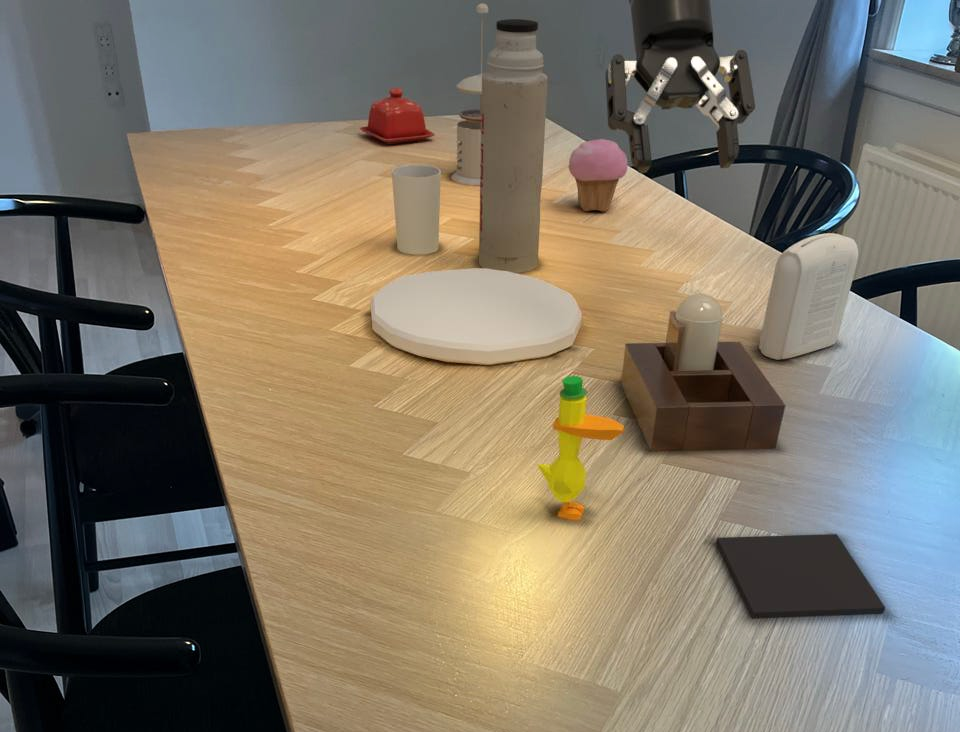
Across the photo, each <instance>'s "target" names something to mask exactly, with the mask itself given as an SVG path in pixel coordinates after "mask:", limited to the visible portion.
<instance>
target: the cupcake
mask: <svg viewBox="0 0 960 732" xmlns="http://www.w3.org/2000/svg"><path fill="white" fill-rule="evenodd" d="M568 161H569V162H568V171H569V173H570V174H571V176H572V177H573V178H574V180H575V182H576V187H577V202H578V205H579V207H580V208H581V209H582V210H583V212H591V211H598V212H604V213H605V212H607V211H608V210H609V209H610V207H611V205H612V202H613V199H614V196H615V192H616V189H617V186H618V183H619V180H620V179H622V178H624V177H625V176H626V174H627V172H628V158H627V155H626V153H625V152H624V150H622V148H620V147H619V145H618V143H617V142H615V141H614V140H609V139H604V138H598V139H592V140H588V141H585V142H581V143H580V145H578V147H576V148H575V149H573V150H572V151H571V154H570V157H569V159H568Z"/></svg>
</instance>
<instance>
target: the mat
mask: <svg viewBox="0 0 960 732" xmlns="http://www.w3.org/2000/svg"><path fill="white" fill-rule="evenodd" d="M715 542H716V543H715V544H716V547H717V549H718V550H719V552H720V554H721V557H722V559H723V561H724V563H725V565H726V568H727V569H728V571H729V574H730V575H731V577H732V579H733V581H734V585H735V586H736V588H737V590H738V592H739V594H740V596H741V599H742V601H743V602H744V605H745V606H746V609H747V611H748V613H749V615H750V617H751V619H772V618H773V619H774V618H798V617H799V618H800V617H827V616H828V617H829V616H831V617H832V616H854V615H855V616H856V615H857V616H858V615H882V614H884V613H885V610H886V606H885V605H884V603H883V602H882V600H881V599H880V597H879V596H878V594H877V593H876V591H875V589H874V588H873V586H872V585H871V583H870V582H869V581H868V579H867V578H866V576H865V575H864V573H863V572H862V570H861V568H860V567H859V565H858V564H857V562H856V561H855V560H854V558H853V557H852V555H851V554H850V552H849V550H848V549H847V547H846V546H845V544H844V543H843V541H842V540H841V538H840V536H839V535H838V534H836V533H831V534H830V533H829V534H794V535H793V534H792V535H764V536H763V535H762V536H731V537H728V536H727V537H717V538H716V541H715Z"/></svg>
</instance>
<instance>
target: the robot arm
mask: <svg viewBox="0 0 960 732" xmlns="http://www.w3.org/2000/svg"><path fill="white" fill-rule="evenodd" d="M628 3H629V6H630V14H631V24H632V32H633V43H634V52H635V55H636V58H635V60H625V58H624V56H623V55H621V54H615V55H613V57H612V59H611V60H610V63H609V65H608V67H607V68H606V70H605V90H606V91H605V93H606V111H607V112H606V113H607V126H608V128H609V129H610V130H612V131H617V130H620V131H623V132H625V133H626V134H627V136H628V143H629V152H630V161H631V164H632V166H633V167H634V168H637V172H638V174H645V173H647V172H648V171H649V170H650V168H651V167H652V152H651V151H652V150H651V144H650V134H649V133H650V132H649V125H648V124H647V125H646V124H645V122H646V121H647V119H648V117H649V115H650V113H651V112H652V110H653V108H654V107H655V105H656V106H658V107H660V108H661V110H663V111H665V110H671V109H674V108H681V109H692V108H694V106H695V107H696V108H697V110H698V111H699V112H700V113H701V114H702V115H703V116H705V117H708V118H709V119H710V120H711V121H712V122H713V124H714V125H715V126H716V127H717V131H716V133H715V135H716V143H717V152H718V162H719V168H720V169H729V168H730V167H731V166H732V165H733V164H734V162H735V159H736V158H737V157H739V153H740V142H739V141H740V140H739V132H738V131H739V130H738V125H741V124H743V123H744V122H745V121H746V120H747V118H748V117H749V116H750V115H751V114H752V113H753V112H754V111H755V109H756V102H755V95H754V90H753V89H754V88H753V82H752V76H751V68H750V63H749V55H748V53H747V51H746V50H744V49H738V50H737V51H736V52H735V54H733V55H727V56H719V55H718V53H717V51H716V49H715V46H714V26H713V17H712V7H711V0H628ZM717 73H719V74H721V75H722V77H723V82H724V83H727V84H728V91H729V96H730V99H729V97H728V96H727V92H726V91H727V90H726V89H725V87H724V86H723V85H722V84H721V83H720V82H719V80H718V79H717V77H716V76H717ZM632 76H633V78H634V79H635V81H636V82H637V83H638V84H639V86H640V88H642V89H643V91H644V92H645V95H644V97H643V98H642V100H641V101H640V103H639V104H638V106H637V109H636V110H635V112H633V111H631V110H628V108H627V107H628V105H627V102H628V101H627V85H628V84H629V82H630V80H631V78H632ZM706 93H708V95H709V97H708V96H707V95H706Z"/></svg>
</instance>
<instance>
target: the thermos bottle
mask: <svg viewBox="0 0 960 732" xmlns="http://www.w3.org/2000/svg"><path fill="white" fill-rule="evenodd" d="M495 25H496V26H495V27H496V32H497V33H496V34H495V45H494V48H493V49H492V50H490V51H489V52H488V54H487V60H486V64H487V71H485V72H483V73H482V100H481V163H480V185H479V225H478V226H479V231H478V232H479V234H478V236H479V238H478V264H479V266H480V268H487V269H493V270H500V271H508V272H512V273H517V274H521V273H526V272H531V271H532V270H535V269H536V268H537V267H538V265H539V250H540V249H539V247H540V230H541V229H540V227H541V196H542V185H543V173H544V172H543V171H544V153H545V135H546V119H547V118H546V117H547V115H546V114H547V98H548V97H547V96H548V80H549V79H548V75H546V74H545V73H544V72H543V68H544V66H545V64H544V62H545V60H544V54H542V52H540V51H539V50H538V48H537V35H536V32H537V31H538V30H539V22H538V21H535V20H530V19H521V18H512V19H511V18H509V19H500V20H497V21H496V23H495Z"/></svg>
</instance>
